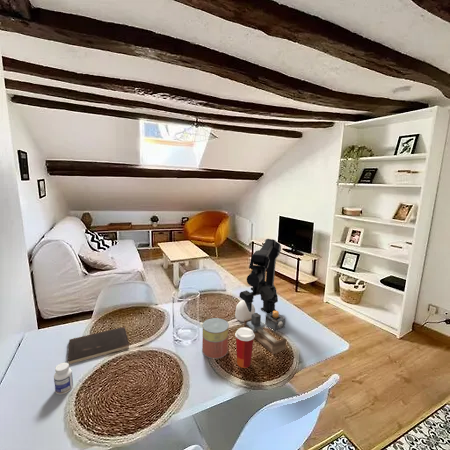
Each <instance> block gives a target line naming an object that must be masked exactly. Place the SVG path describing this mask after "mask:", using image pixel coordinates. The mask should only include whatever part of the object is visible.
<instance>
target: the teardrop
mask: <svg viewBox="0 0 450 450" xmlns="http://www.w3.org/2000/svg"><path fill="white" fill-rule="evenodd" d="M254 313H256V308H255V305H254V304H253V303H252V309H251V312H249V310H248V307H247V305H246V303H245V301H244V300H243V299H241V300H240V301H239V302H238V303H237V304H236V306H235V315H234V317H235V319H236V320H237V321H239V322H241V323H242V322H243V323H244V320H246V319H249V318H251V316H252V314H254Z"/></svg>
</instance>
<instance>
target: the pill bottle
mask: <svg viewBox="0 0 450 450" xmlns="http://www.w3.org/2000/svg"><path fill="white" fill-rule="evenodd" d="M73 378H74V377H73V371H72V368H70V364H69V362H61V363H59V364H57V365H56V366H55V373H54V375H53V382H54V391H55V393H56V394H57V395H65V394H67V393H68V392H70V391H71V390H72V389H73V388H74V380H73Z"/></svg>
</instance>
